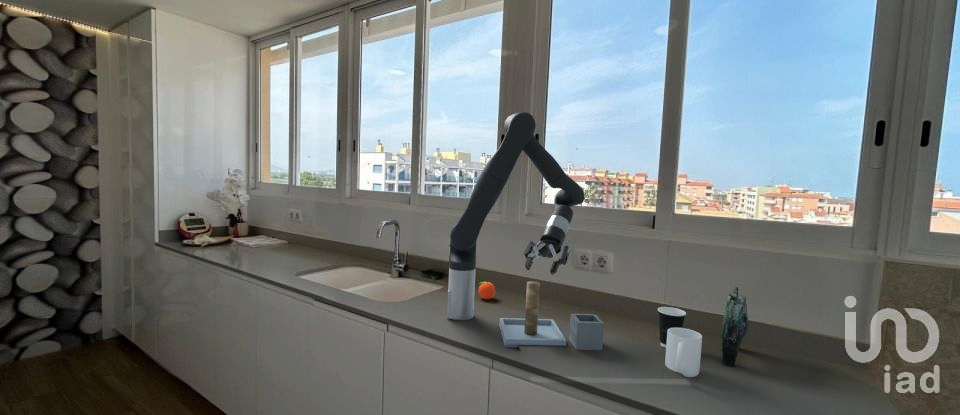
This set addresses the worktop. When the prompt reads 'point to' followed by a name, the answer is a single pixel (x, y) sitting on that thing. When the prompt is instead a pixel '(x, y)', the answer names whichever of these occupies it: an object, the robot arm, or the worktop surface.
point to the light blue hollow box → (586, 332)
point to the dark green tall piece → (734, 327)
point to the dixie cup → (669, 321)
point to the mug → (683, 351)
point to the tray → (515, 335)
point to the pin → (532, 308)
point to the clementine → (486, 290)
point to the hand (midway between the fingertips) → (539, 270)
